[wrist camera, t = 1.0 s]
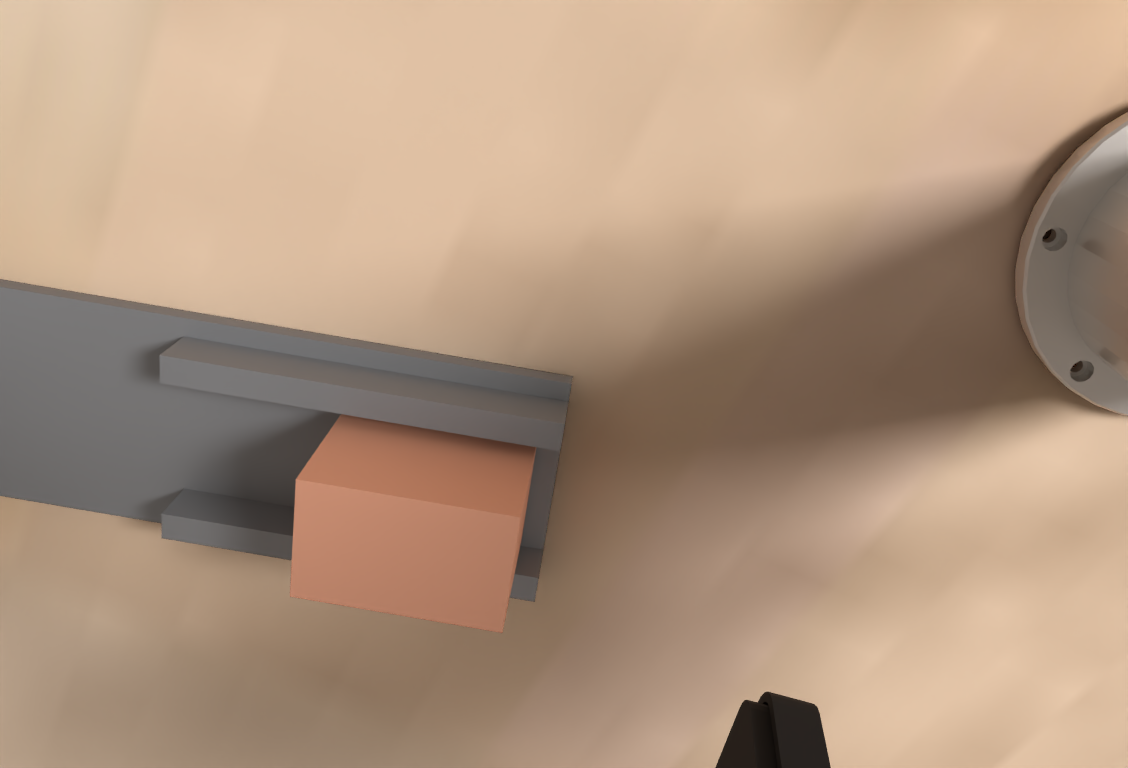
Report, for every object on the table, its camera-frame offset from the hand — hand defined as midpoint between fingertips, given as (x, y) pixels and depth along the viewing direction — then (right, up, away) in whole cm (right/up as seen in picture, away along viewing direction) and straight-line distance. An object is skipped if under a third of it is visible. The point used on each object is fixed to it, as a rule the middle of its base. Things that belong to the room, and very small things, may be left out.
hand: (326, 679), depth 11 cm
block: (-3, 0, +30) cm, 30 cm away
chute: (-12, +2, +31) cm, 33 cm away
